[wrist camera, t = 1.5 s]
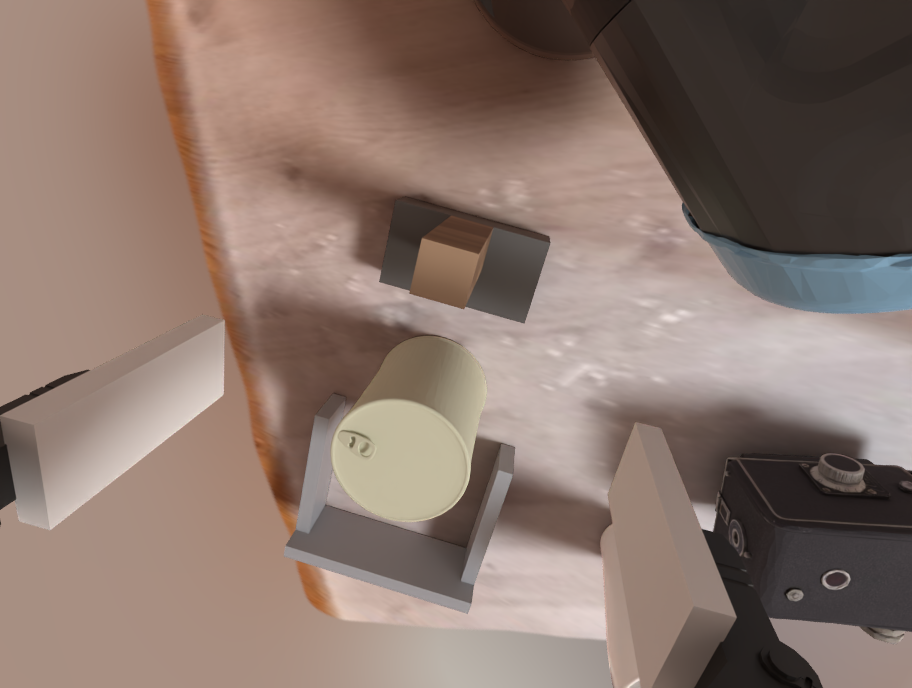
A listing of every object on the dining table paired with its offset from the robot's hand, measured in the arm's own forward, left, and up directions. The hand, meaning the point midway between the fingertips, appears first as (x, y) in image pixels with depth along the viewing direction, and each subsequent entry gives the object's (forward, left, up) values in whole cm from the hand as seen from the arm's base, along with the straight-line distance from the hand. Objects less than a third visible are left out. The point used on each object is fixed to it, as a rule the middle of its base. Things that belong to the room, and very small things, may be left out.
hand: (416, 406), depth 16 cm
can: (+12, -1, -25) cm, 27 cm away
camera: (+11, +29, -25) cm, 40 cm away
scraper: (0, -1, -25) cm, 25 cm away
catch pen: (+21, -1, -25) cm, 32 cm away
